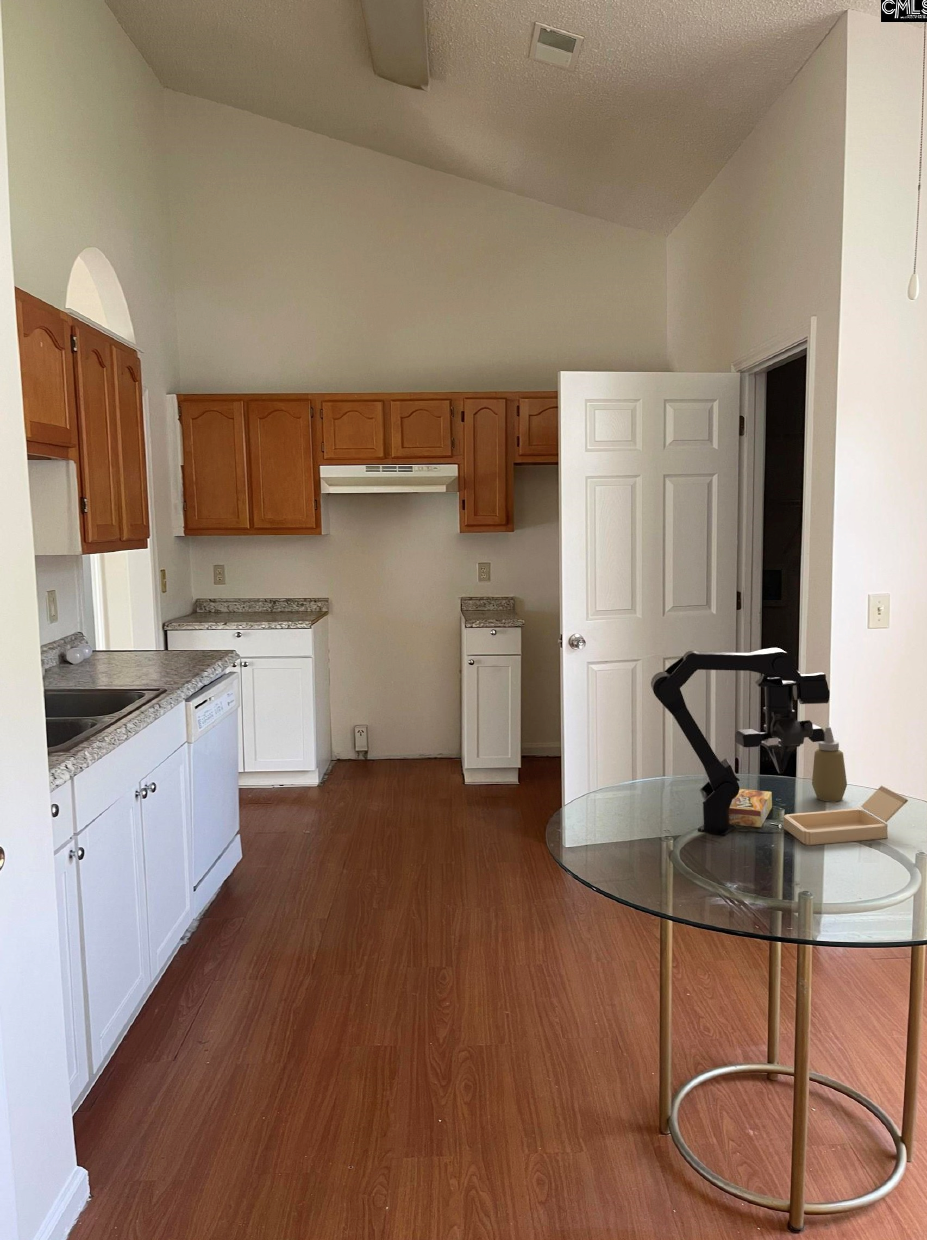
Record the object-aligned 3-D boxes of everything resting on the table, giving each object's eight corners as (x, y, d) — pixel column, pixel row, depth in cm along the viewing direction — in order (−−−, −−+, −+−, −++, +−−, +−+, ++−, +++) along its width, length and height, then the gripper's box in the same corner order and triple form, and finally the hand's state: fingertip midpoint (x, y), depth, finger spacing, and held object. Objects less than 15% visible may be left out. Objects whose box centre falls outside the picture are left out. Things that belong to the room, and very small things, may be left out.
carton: (805, 846, 187) (805, 832, 187) (781, 827, 199) (781, 814, 199) (888, 838, 188) (888, 825, 188) (859, 820, 200) (859, 807, 200)
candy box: (735, 803, 217) (722, 824, 203) (734, 787, 216) (721, 807, 203) (772, 807, 212) (761, 828, 199) (772, 790, 212) (760, 810, 199)
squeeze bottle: (813, 803, 214) (812, 731, 212) (810, 793, 221) (809, 723, 219) (849, 804, 211) (848, 731, 209) (845, 794, 219) (844, 723, 217)
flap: (884, 820, 189) (906, 798, 189) (860, 806, 199) (881, 785, 199) (886, 822, 189) (908, 800, 189) (862, 807, 199) (883, 787, 199)
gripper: (752, 715, 187) (754, 786, 188) (837, 709, 188) (838, 779, 189) (732, 705, 198) (735, 772, 199) (812, 699, 199) (814, 765, 200)
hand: (780, 772), depth 197 cm, fingers closed
